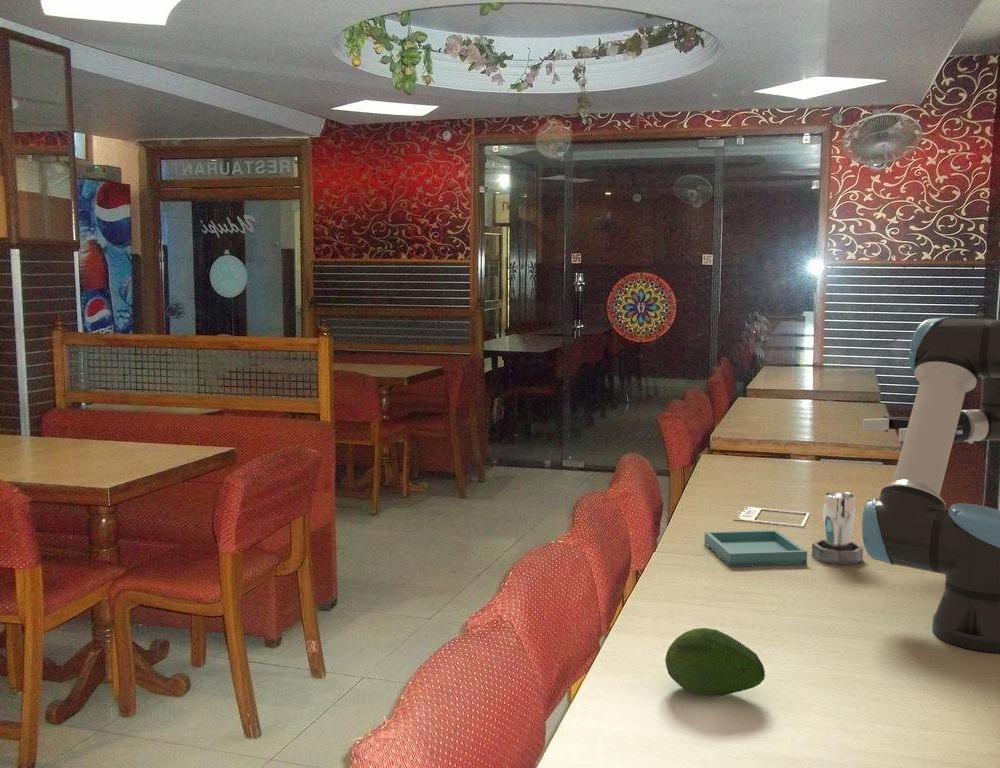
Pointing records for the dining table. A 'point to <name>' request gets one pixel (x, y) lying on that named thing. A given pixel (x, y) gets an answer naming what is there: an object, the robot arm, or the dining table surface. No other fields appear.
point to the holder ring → (837, 554)
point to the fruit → (713, 663)
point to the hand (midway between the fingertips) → (880, 429)
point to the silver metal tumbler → (838, 520)
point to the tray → (755, 548)
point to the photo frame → (753, 513)
